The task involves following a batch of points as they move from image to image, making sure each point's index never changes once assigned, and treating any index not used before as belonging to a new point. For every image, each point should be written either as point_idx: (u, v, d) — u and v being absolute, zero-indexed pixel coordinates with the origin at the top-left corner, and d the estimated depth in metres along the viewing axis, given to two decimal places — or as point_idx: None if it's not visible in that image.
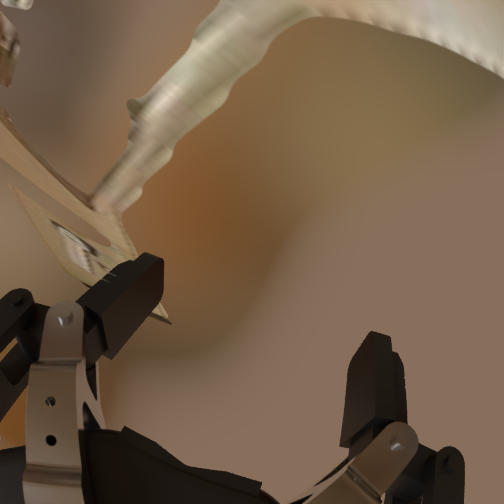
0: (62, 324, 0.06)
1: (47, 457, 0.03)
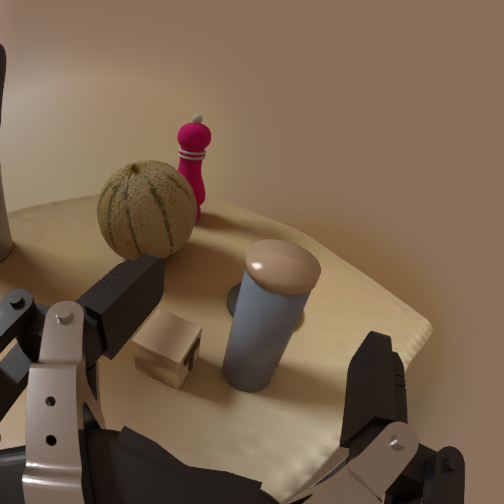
0: (62, 324, 0.06)
1: (47, 456, 0.03)
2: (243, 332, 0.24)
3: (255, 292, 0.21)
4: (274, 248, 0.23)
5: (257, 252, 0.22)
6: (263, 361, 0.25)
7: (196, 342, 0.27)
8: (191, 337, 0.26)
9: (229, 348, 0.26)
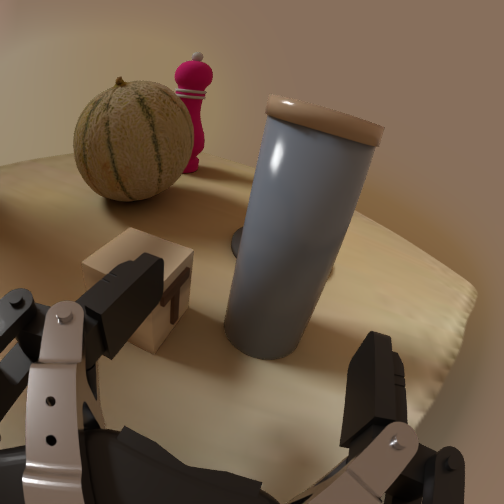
0: (62, 324, 0.06)
1: (47, 457, 0.03)
2: (263, 234, 0.14)
3: (287, 143, 0.12)
4: None
5: None
6: (295, 293, 0.15)
7: (184, 272, 0.17)
8: (175, 262, 0.17)
9: (236, 278, 0.17)
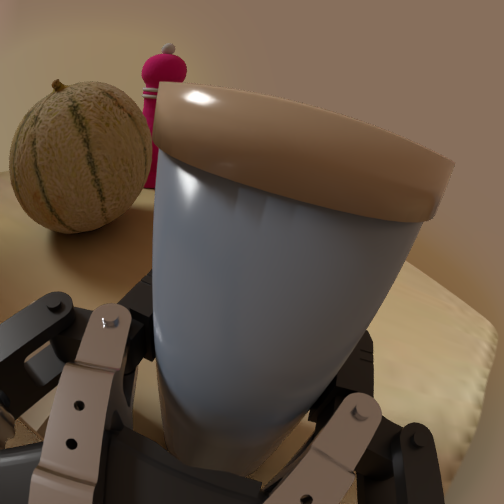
0: (109, 328, 0.07)
1: (63, 459, 0.03)
2: (172, 382, 0.07)
3: (181, 221, 0.04)
4: (272, 96, 0.06)
5: (208, 85, 0.05)
6: (243, 451, 0.08)
7: None
8: None
9: (160, 404, 0.09)
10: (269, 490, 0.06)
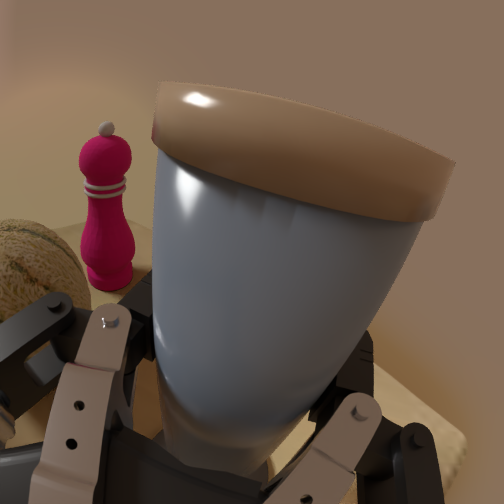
0: (109, 328, 0.07)
1: (63, 459, 0.03)
2: (172, 382, 0.07)
3: (181, 221, 0.04)
4: None
5: (208, 85, 0.05)
6: (243, 451, 0.08)
7: None
8: None
9: (160, 404, 0.09)
10: (269, 490, 0.06)
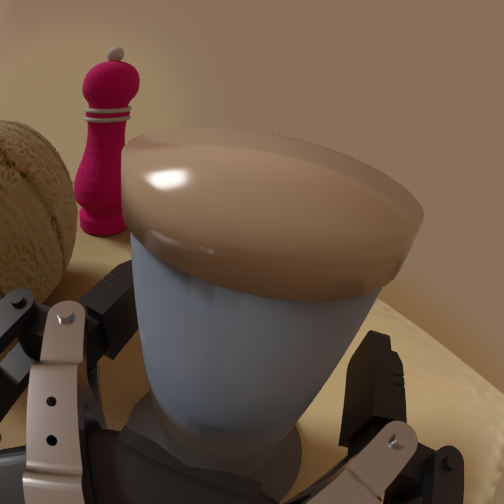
0: (63, 324, 0.06)
1: (47, 457, 0.03)
2: (162, 407, 0.07)
3: (150, 290, 0.05)
4: (244, 138, 0.06)
5: (175, 138, 0.05)
6: (231, 464, 0.08)
7: None
8: None
9: (156, 419, 0.10)
10: None
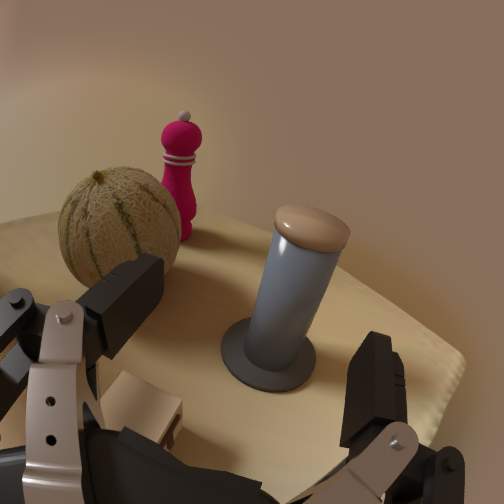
0: (62, 324, 0.06)
1: (47, 456, 0.03)
2: (272, 299, 0.23)
3: (287, 252, 0.21)
4: (302, 211, 0.23)
5: (287, 213, 0.22)
6: (291, 332, 0.24)
7: (175, 420, 0.17)
8: (167, 416, 0.16)
9: (254, 321, 0.26)
10: None
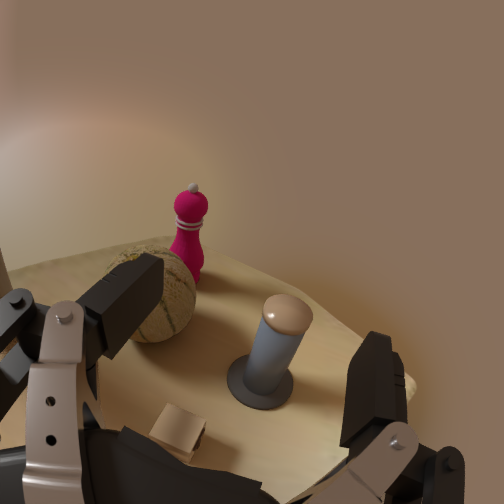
0: (62, 324, 0.06)
1: (47, 457, 0.03)
2: (260, 356, 0.34)
3: (270, 333, 0.32)
4: (282, 302, 0.34)
5: (271, 306, 0.33)
6: (273, 374, 0.35)
7: (202, 432, 0.28)
8: (198, 430, 0.28)
9: (249, 365, 0.37)
10: None
